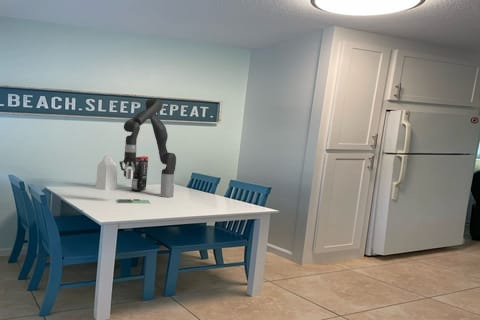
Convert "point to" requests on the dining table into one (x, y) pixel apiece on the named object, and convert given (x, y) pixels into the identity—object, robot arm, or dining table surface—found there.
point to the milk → (106, 174)
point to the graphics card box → (140, 174)
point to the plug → (129, 174)
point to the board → (132, 201)
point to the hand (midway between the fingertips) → (129, 176)
